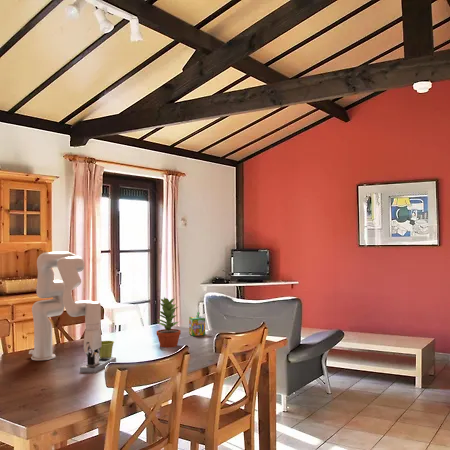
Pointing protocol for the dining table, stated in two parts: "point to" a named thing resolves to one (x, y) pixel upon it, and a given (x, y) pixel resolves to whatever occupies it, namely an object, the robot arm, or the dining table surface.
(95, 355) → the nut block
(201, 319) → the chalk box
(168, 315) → the potted plant
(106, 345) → the plant pot
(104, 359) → the grey slotted tray
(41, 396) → the dining table surface
